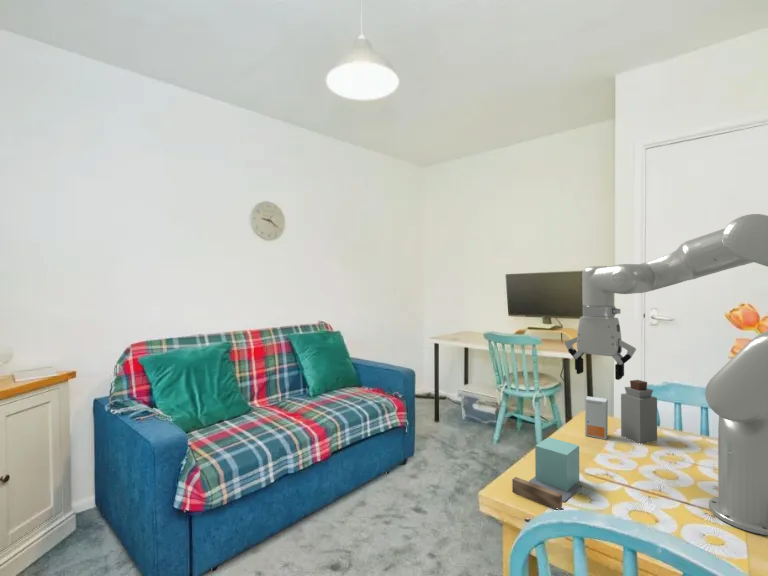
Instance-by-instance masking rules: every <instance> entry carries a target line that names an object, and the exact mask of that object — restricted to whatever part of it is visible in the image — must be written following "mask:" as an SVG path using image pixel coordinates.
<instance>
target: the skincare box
mask: <svg viewBox="0 0 768 576" xmlns="http://www.w3.org/2000/svg"><path fill="white" fill-rule="evenodd" d="M608 401H609V399H608V398H604V397H597V396H589V395H587V396H586V398H585V404H584V405H585V409H584V410H585V414H584V417H585V418H584V423H585V424H584V425H585V427H584V428H585V429H584V430H585V432H584V435H585V437H592V438H597V439H601V440H604V441H605V440H607V437H608V424H609V422H608V421H609V419H608V412H609V410H608V407H609V405H608V404H609V403H608Z"/></svg>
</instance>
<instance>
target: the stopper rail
mask: <svg viewBox="0 0 768 576" xmlns="http://www.w3.org/2000/svg"><path fill="white" fill-rule="evenodd" d="M511 481H512V483H511V486H512V488H511V489H512V492H513V493H514V494H516V495H520V496H523V497H525V498H527V499H530V500H531V501H534V502H537V503H539V504H542V505H544V506H546V507H549V508H551V507H554V508H558V509H560V510H561V509H562V508H563V502H562V494H560V493H557V492H555V491H552V490H549V489H547V488H544V487H541V486H539V485H536V484H533V483H531V482H528V481H529V480H525V479H523V478H519V477H517V476H515V477H513V478H512V480H511ZM561 507H562V508H561ZM554 508H553V509H554Z"/></svg>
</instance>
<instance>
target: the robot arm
mask: <svg viewBox="0 0 768 576" xmlns="http://www.w3.org/2000/svg"><path fill="white" fill-rule="evenodd" d="M753 263H756V264H759V265H761V266H765V267H768V215H766V214H761V213H759V214H758V213H750V214H745V215H741V216H738V217H737V218H735V219H734V220H731V221H730V222H729V223H728V224H727V225H726V226H725V227H724V228H722V229H720V230H716V231H713V232H710V233H708V234H707V233H706V234H704V235H701V236H699V237H696V238H693V239H689V240H686V241H684V242H683V243H681V244H680V245H679V246H678V248H676V249H675V250H674V251H673V252H671V253H669V254H667V255H665V256H662V257H659V258H656V259H652V260H648V261H646V262H643V263H640V264H639V263H621V264H614V265H610V266H609V265H608V266H607V265H597V266H596V265H594V266H586V267H584V268H583V269H582V274H581V280H582V281H581V282H582V283H581V285H582V287H581V288H582V291H581V293H582V296H581V297H582V316H580V317H579V320H578V321H579V322H578V326H577V327H578V328H577V334H576V337H574V338H572V339H569V340H567V341H565V342H564V345H565V346H566V349H567V351H568V353H569V354H570V355H571V356H572V358H573V360H574V369H575V371H576V374H577V375H581V374H582V373H584V358H583V356H584V355H585V354H587V355H594V356H603V357H612V358H613V360H614V361H615V362H616V364H615V365H614V366H615V367H614V370H615V371H614V373H615V374H614V375H615V377H614V378H615V380H617V381H619V380H621V379H622V378H624V376H625V364H626V362H628V361H630V359H632V357H633V356H634V354H635V353H636V351H637V348H636V347H634V346H632V344H629V343H627V342H626V341H623V340H622V332H621V326H620V321H619V318H618V317H615V316H616V315H618V314H621V309H620V308H617V307H616V305H615V294H619V295H632V294H643V293H648V292H652V291H655V290H659V289H662V288H663V289H664V288H667V287H669V286H670V287H671V286H673V285H677V284H681V283H683V282H686V281H691V280H696V279H699V278H702V277H705V276H709V275H713V274H716V273H719V272H722V271H726V270H731V269H734V268H737V267H740V266H741V267H742V266H745V265H749V264H753ZM574 344H576V348H577V349H576V348H574V347H573V345H574ZM623 349H625V350H627V352H626V354H625V355H624V356H623V355H622V352H623ZM704 391H705V392H704V396H705V400H706V403H707V405H708V407H710V410H712V411H713V412H714V413H715V414H716V415H718V431H717V434H718V437H717V439H718V440H717V441H718V444H717V445H718V446H717V449H718V451H717V452H718V457H717V458H718V459H717V460H718V461H717V462H718V465H717V466H718V469H717V470H718V474H717V475H718V476H717V477H718V481H717V483H718V486H717V487H718V489H717V490H718V491H717V492H718V494H717V495H718V496H716V497H713V498H711V499H710V500H708V501H709V502H708V507H709V510H710V512H711V513H712V514H713V515H714V516H716V517H717V518H718V519H720V520H721V521H722V522H725V523H726V524H729V525H731V526H734V527H735V528H737V529H740V530H744V531H747V532H750V533H754V534H758V535H762V536H768V330H767V331H764V332H762V333H760V334H758V335H756V336H755V337H754V338H752V339H751V340H749V342H748V343H747V344H745V346H743V347H742V348H741V349H740V350H739V351H738V352H737V353H736V354H735V355H734V356H733V357H732V358H731V359H730V360H729V361H728V362H727V363H725V365H724V366H722V367H721V369H719V370H718V371H717V372H716V373H715V374H714V375H713V376H712V377H711V378H710V379H709V381H708V383H706V386H705V390H704Z"/></svg>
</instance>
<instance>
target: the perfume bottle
mask: <svg viewBox="0 0 768 576" xmlns="http://www.w3.org/2000/svg"><path fill="white" fill-rule="evenodd" d="M629 383H630V386H624V389H625V391H624V392H625V393H620V408H621V409H620V434H621V435H620V436H621V437H623V438H625V437H626V438H625V439H627V438H628V439H627V440H630V441H632V440H633V441H632V442H634V441H635V443H637V444H639V443H640V444H639V445H641V443H643V444H647V442H649V443H654V442H653V441H655V442H658V397H656V396H653V392H654V389H651V388H647V387H648V382H647V381H644V380H640V379H633V380H629Z"/></svg>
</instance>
